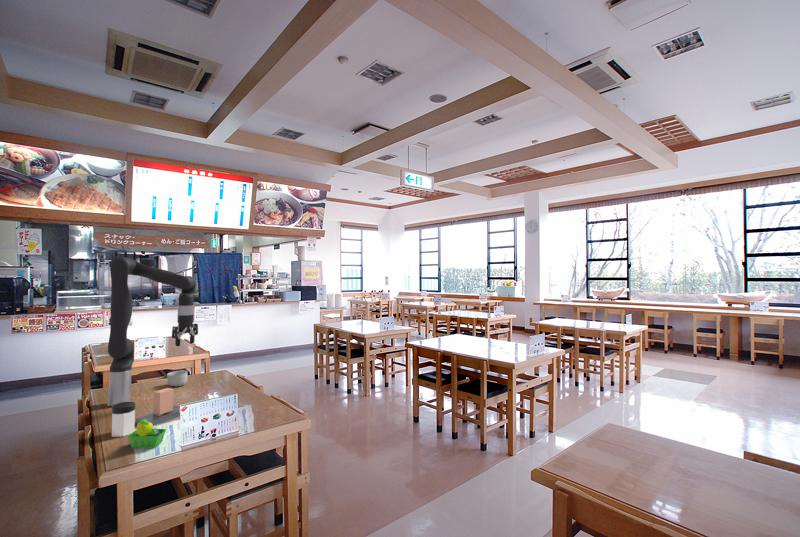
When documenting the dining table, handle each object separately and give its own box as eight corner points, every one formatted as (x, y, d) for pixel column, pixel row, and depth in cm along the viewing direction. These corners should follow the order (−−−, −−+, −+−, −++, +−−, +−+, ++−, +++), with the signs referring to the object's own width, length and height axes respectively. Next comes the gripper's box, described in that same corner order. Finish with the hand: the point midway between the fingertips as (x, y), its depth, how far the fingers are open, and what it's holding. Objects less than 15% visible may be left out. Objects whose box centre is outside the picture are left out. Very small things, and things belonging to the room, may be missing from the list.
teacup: (180, 388, 233) (181, 374, 233) (162, 388, 233) (163, 374, 233) (193, 382, 247) (194, 369, 247) (176, 381, 247) (176, 368, 247)
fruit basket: (167, 441, 161) (167, 413, 161) (154, 451, 152) (155, 421, 153) (138, 441, 161) (139, 413, 161) (123, 450, 152) (124, 421, 152)
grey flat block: (150, 427, 175) (150, 421, 175) (135, 424, 178) (135, 418, 178) (188, 412, 194) (188, 407, 194) (174, 410, 197) (174, 405, 197)
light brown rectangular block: (159, 421, 182) (160, 393, 182) (153, 420, 183) (153, 391, 183) (172, 416, 188) (173, 388, 189) (166, 415, 190) (167, 387, 190)
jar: (139, 429, 173) (140, 401, 173) (128, 436, 165) (129, 407, 165) (117, 429, 172) (118, 401, 172) (105, 437, 164) (106, 408, 164)
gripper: (191, 312, 218) (190, 342, 217) (168, 314, 204) (167, 346, 204) (202, 313, 215) (201, 343, 215) (179, 315, 202) (178, 347, 202)
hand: (185, 344), depth 210 cm, fingers open, 8 cm apart
